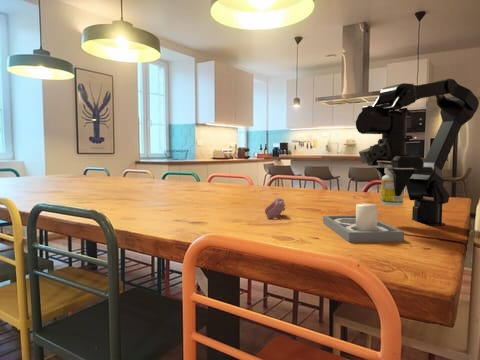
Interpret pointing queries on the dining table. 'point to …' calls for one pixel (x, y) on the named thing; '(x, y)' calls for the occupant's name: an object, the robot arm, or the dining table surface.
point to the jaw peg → (366, 217)
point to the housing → (347, 230)
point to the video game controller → (275, 208)
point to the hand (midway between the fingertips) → (392, 194)
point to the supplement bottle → (390, 191)
